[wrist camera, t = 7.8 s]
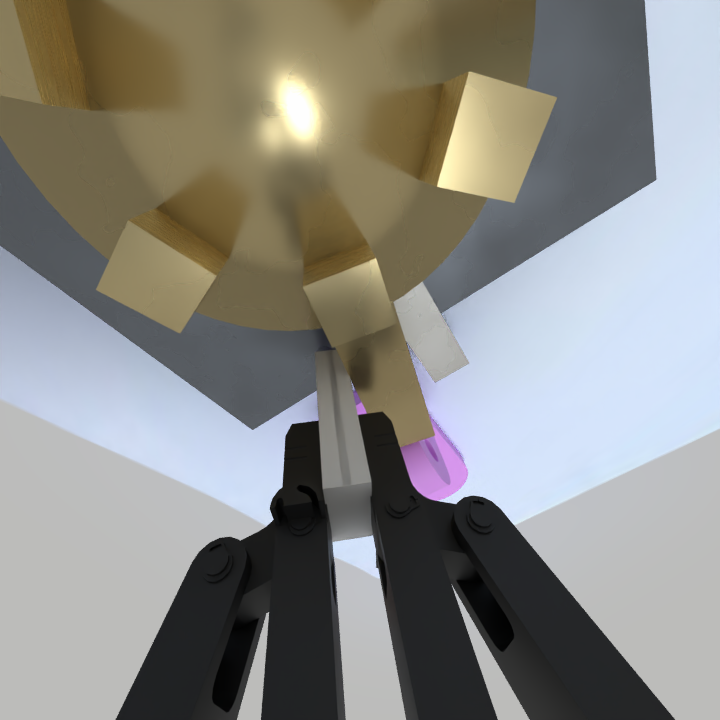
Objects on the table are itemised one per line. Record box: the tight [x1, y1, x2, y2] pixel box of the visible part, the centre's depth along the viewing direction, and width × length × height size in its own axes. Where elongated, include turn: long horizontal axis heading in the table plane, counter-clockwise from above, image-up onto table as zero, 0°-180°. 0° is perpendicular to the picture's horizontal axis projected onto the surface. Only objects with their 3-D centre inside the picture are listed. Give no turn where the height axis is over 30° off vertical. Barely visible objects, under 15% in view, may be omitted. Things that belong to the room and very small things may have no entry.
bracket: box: [353, 391, 468, 501], centre depth 21 cm, size 13×6×7 cm, turn 34°
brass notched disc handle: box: [0, 0, 557, 447], centre depth 10 cm, size 19×12×4 cm, turn 19°
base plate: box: [0, 0, 656, 430], centre depth 12 cm, size 22×21×3 cm
